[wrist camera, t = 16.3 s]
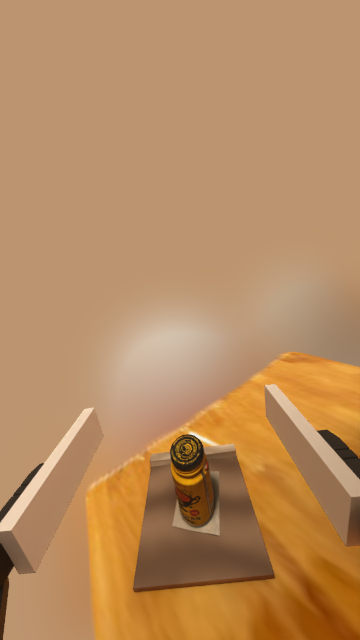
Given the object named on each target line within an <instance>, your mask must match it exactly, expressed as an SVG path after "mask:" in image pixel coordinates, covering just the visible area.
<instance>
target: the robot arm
mask: <svg viewBox="0 0 360 640" xmlns="http://www.w3.org/2000/svg"><path fill="white" fill-rule="evenodd" d="M265 404H266V417H267V418H268V420H269V422H270V423H271V425H272V427H273V428H274V430H275V432H276V433H277V435H278V436H279V438H280V440H281V441H282V443H283V445H284V446H285V448H286V449H287V451H288V453H289V454H290V456H291V458H292V459H293V461H294V462H295V464H296V466H297V467H298V469H299V471H300V472H301V474H302V476H303V477H304V479H305V480H306V482H307V484H308V485H309V487H310V489H311V490H312V492H313V493H314V495H315V497H316V498H317V500H318V502H319V503H320V505H321V507H322V508H323V510H324V511H325V513H326V515H327V516H328V518H329V520H330V521H331V523H332V524H333V526H334V528H335V529H336V531H337V533H338V534H339V536H340V537H341V539H342V541H343V542H344V544H345V546H357V545H360V459H359V458H358V456H357V455H356V454H355V453H354V452H353V451H352V450H350V449H349V447H348V446H347V445H346V444H345V443H344V442H343V441H342V440H341V439H340V438H339V437H337V436H336V435H334V434H333V433H331V432H330V431H328V430H320V431H316V430H315V429H314V427H313V426H312V425H311V424H310V423H309V422H308V421H307V420H306V418H305V417H304V416H303V415H302V414H301V413H300V412H299V410H298V409H297V408H296V407H295V406H294V405H293V404H292V403H291V401H290V400H289V399H288V398H287V397H286V396H285V395H284V394H283V392H282V391H281V390H280V389H279V388H278V387H277V386H276V385H275V384H271V385H265ZM102 438H103V433H102V430H101V426H100V424H99V420H98V417H97V414H96V411H95V408H89V409H84V411H83V412H82V413H81V415H80V416H79V418H78V419H77V420H76V422H75V423H74V424H73V426H72V427H71V428H70V430H69V431H68V432H67V434H66V435H65V436H64V438H63V439H62V440H61V442H60V443H59V444H58V446H57V447H56V448H55V450H54V451H53V453H52V454H51V455H50V457H49V458H48V459H47V461H46V462H45V463H42V464H39V466H37V467H36V468H35V469H34V470H33V471H32V472H31V473H30V474H29V475H28V476H27V478H26V479H25V480H24V482H23V483H22V484H21V486H20V487H19V488H18V489H17V491H16V492H15V493H14V495H13V497H11V498H10V499H9V501H8V502H7V503H6V505H5V506H4V507H3V508H2V510H1V511H0V640H3V632H4V623H5V615H6V606H7V597H8V589H9V579H8V575H9V573H10V572H11V570H12V568H13V567H15V568H16V570H17V571H18V573H19V574H27V573H36V571H37V569H38V567H39V565H40V563H41V561H42V559H43V557H44V555H45V553H46V551H47V549H48V547H49V545H50V543H51V541H52V539H53V537H54V535H55V533H56V531H57V529H58V527H59V525H60V523H61V521H62V519H63V517H64V515H65V513H66V511H67V508H68V507H69V505H70V503H71V500H72V498H73V497H74V495H75V492H76V491H77V488H78V487H79V485H80V482H81V480H82V478H83V476H84V474H85V472H86V470H87V468H88V466H89V464H90V462H91V460H92V458H93V456H94V454H95V452H96V450H97V448H98V446H99V444H100V442H101V440H102Z"/></svg>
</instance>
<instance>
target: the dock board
mask: <svg viewBox="0 0 360 640" xmlns="http://www.w3.org/2000/svg"><path fill="white" fill-rule="evenodd" d="M204 452H205V454H206V456H207V459H208V463H209V470H210V471H219V519H220V536H219V535H214V534H210V533H202V532H197V531H192V530H187V529H183V528H179V527H174V526H172V524H173V520H174V514H175V508H176V503H177V496H176V491H175V486H174V482H173V478H172V473H171V458H170V457H171V456H170V452H165V453H157V454H151V458H150V463H151V473H150V479H149V486H148V493H147V499H146V506H145V513H144V519H143V526H142V532H141V539H140V546H139V552H138V559H137V566H136V572H135V579H134V586H133V590H134V592H140V591H150V590H160V589H171V588H181V587H191V586H201V585H211V584H221V583H231V582H241V581H251V580H262V579H272V578H274V572H273V569H272V565H271V562H270V559H269V556H268V553H267V550H266V547H265V544H264V540H263V537H262V534H261V531H260V528H259V525H258V522H257V519H256V516H255V512H254V509H253V506H252V503H251V500H250V497H249V494H248V491H247V488H246V484H245V481H244V478H243V475H242V472H241V469H240V466H239V463H238V460H237V456H236V449H235V446H234V444H228V445H220V446H212V447H205V448H204Z"/></svg>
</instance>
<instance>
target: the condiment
mask: <svg viewBox="0 0 360 640" xmlns="http://www.w3.org/2000/svg"><path fill="white" fill-rule="evenodd" d="M170 456H171V457H170V458H171V473H172V478H173V482H174V486H175V491H176V496H177V503H176V508H175V514H174V520H173V524H172V526H174V527H179V528H183V529H187V530H192V531H197V532H202V533H210V534H214V535H219V536H220V519H219V471H210V470H209V463H208V459H207V456H206V454H205V452H204V448H203V445H202V443H201V441H200V440H199V439H198V438H197V437H195V436H194V435H188V434H187V435H182V436H180V437H178V438H177V439H176V440H175V441H174V443H173V444H172V446H171V450H170Z"/></svg>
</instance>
